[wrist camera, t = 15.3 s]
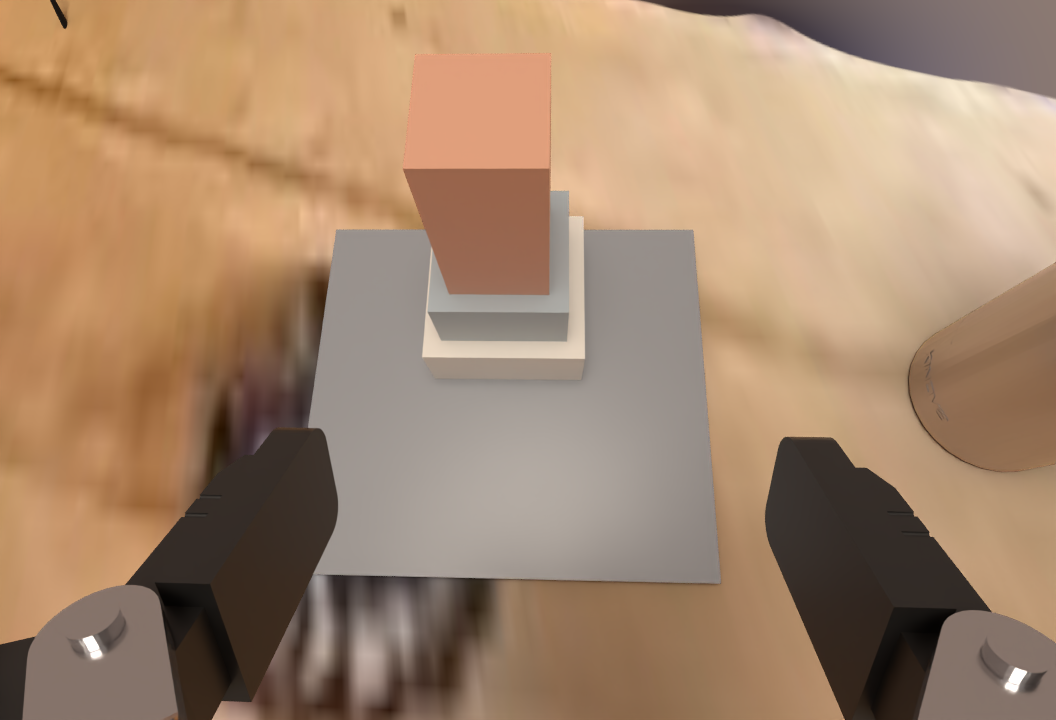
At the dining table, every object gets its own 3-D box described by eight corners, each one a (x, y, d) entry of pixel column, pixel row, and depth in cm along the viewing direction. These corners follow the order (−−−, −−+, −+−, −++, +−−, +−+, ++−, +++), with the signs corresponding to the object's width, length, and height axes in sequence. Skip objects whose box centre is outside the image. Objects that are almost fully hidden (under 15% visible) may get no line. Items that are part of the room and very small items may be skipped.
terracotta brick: (550, 208, 31) (551, 53, 22) (549, 294, 30) (549, 168, 20) (455, 207, 31) (415, 54, 22) (449, 294, 30) (402, 168, 20)
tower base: (580, 249, 39) (587, 174, 32) (581, 380, 36) (589, 331, 29) (444, 249, 40) (420, 175, 32) (435, 378, 37) (405, 330, 29)
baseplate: (690, 236, 40) (693, 230, 40) (717, 583, 33) (721, 583, 32) (340, 235, 41) (336, 229, 40) (292, 573, 34) (287, 573, 33)
